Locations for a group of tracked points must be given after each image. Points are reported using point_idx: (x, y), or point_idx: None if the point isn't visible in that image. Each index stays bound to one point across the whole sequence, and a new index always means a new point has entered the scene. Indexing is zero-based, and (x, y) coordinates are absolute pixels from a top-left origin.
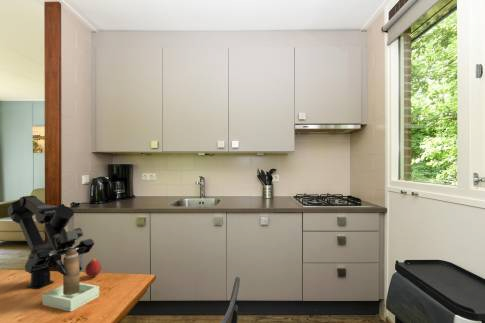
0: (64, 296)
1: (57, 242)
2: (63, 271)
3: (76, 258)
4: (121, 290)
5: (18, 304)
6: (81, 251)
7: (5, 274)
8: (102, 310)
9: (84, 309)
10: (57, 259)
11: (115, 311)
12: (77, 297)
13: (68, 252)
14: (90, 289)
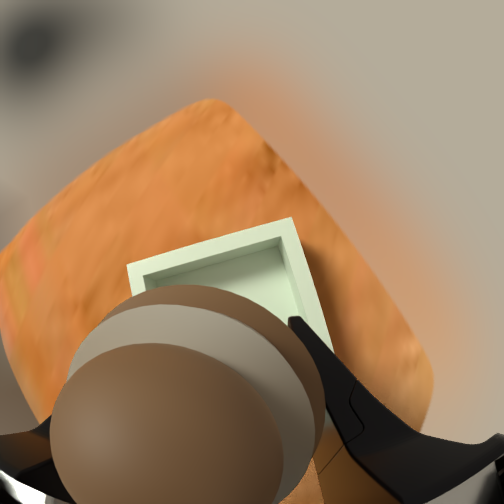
0: None
1: None
2: (314, 335)
3: (158, 290)
4: (78, 244)
5: None
6: (27, 443)
7: None
8: (207, 150)
9: (242, 207)
10: (398, 444)
11: (188, 118)
12: (254, 227)
13: (263, 437)
14: (169, 263)
